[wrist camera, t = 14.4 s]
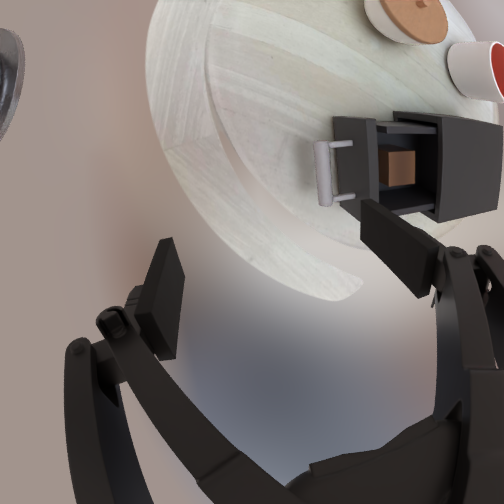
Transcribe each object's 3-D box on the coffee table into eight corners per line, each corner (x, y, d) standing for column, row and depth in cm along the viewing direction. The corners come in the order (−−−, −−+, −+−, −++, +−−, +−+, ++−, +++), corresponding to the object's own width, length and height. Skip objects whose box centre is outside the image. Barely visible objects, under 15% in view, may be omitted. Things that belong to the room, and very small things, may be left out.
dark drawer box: (395, 197, 36) (438, 223, 27) (392, 111, 29) (441, 116, 21) (457, 189, 36) (497, 209, 28) (458, 116, 30) (502, 126, 21)
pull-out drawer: (308, 211, 34) (331, 237, 27) (297, 119, 28) (323, 121, 21) (417, 193, 35) (452, 212, 28) (416, 116, 29) (456, 122, 22)
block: (367, 176, 31) (388, 187, 27) (366, 145, 29) (388, 152, 25) (392, 173, 32) (414, 183, 27) (391, 144, 30) (415, 150, 25)
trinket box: (342, 24, 23) (380, 3, 15) (359, -24, 19) (394, -48, 11) (406, 63, 26) (452, 59, 18) (418, 15, 22) (459, 5, 13)
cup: (436, 44, 24) (482, 40, 15) (467, 43, 23) (508, 42, 14) (454, 102, 29) (500, 109, 20) (482, 94, 28) (524, 101, 19)
